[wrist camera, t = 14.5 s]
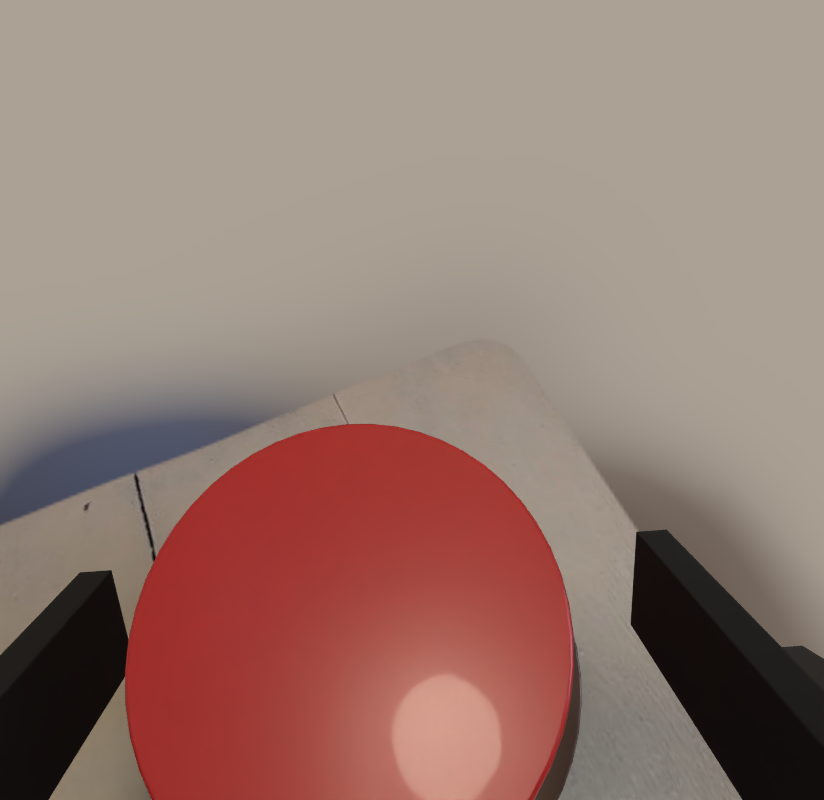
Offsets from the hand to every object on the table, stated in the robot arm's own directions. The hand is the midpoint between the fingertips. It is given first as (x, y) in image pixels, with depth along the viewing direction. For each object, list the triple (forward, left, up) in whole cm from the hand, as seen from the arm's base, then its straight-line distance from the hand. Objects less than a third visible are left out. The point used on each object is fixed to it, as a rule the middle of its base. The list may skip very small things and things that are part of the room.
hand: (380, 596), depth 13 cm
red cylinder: (0, +1, -6) cm, 6 cm away
